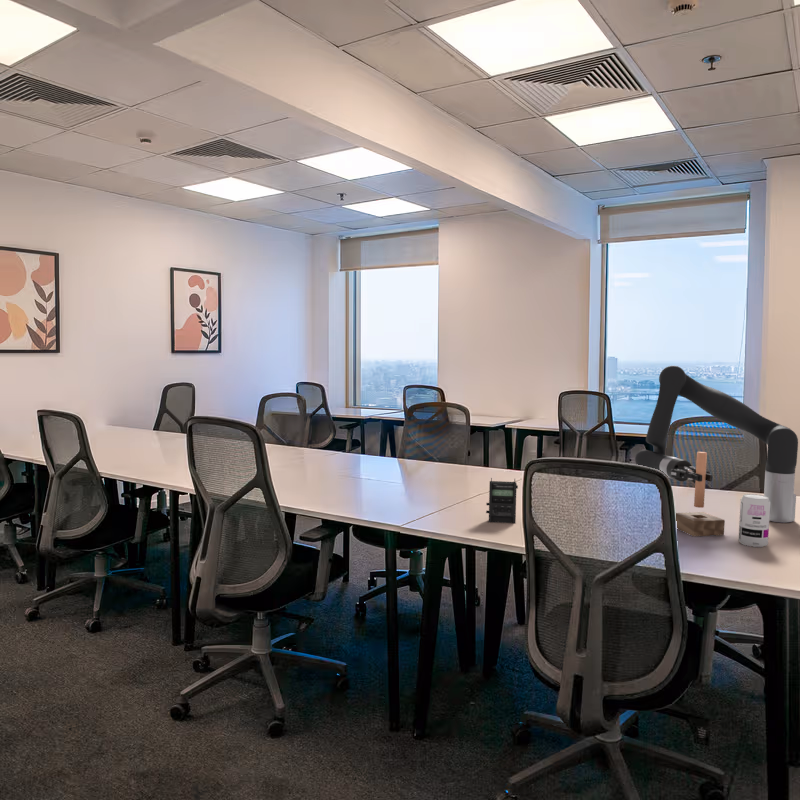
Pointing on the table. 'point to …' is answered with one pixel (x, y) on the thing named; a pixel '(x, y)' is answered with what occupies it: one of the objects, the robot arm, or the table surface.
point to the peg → (701, 485)
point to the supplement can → (754, 520)
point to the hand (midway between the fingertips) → (706, 478)
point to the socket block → (700, 524)
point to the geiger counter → (502, 501)
